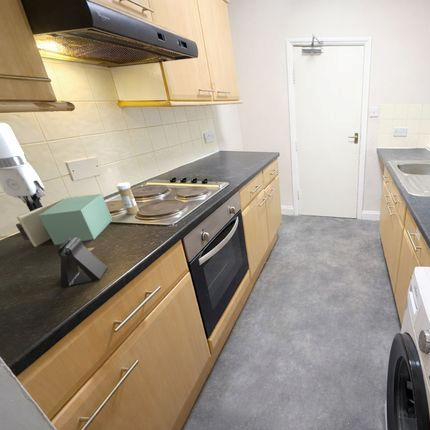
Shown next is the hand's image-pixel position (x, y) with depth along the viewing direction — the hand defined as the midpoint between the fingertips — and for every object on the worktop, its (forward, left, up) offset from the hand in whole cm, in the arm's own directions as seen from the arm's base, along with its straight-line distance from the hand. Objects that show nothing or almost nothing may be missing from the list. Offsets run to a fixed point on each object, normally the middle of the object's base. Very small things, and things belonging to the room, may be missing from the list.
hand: (38, 211), depth 96 cm
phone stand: (+26, -35, -10) cm, 44 cm away
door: (+1, 0, -10) cm, 10 cm away
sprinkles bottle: (+24, +13, -10) cm, 29 cm away
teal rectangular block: (+12, -1, -10) cm, 15 cm away
